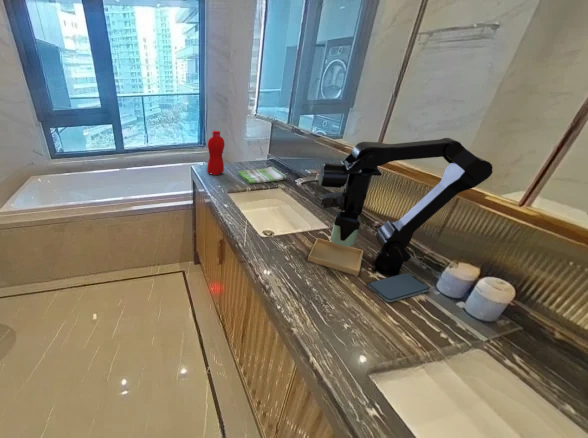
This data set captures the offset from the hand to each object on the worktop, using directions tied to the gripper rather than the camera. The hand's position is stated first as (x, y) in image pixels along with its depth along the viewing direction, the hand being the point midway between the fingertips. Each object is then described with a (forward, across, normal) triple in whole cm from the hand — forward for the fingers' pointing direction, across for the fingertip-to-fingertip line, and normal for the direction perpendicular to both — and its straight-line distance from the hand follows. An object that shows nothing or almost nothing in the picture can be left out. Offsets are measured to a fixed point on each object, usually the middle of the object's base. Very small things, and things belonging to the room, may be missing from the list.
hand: (343, 234), depth 88 cm
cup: (+2, 0, 0) cm, 2 cm away
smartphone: (+11, +4, +17) cm, 21 cm away
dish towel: (+11, -65, -49) cm, 83 cm away
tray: (+11, -3, -1) cm, 11 cm away
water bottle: (+11, -60, -76) cm, 98 cm away
